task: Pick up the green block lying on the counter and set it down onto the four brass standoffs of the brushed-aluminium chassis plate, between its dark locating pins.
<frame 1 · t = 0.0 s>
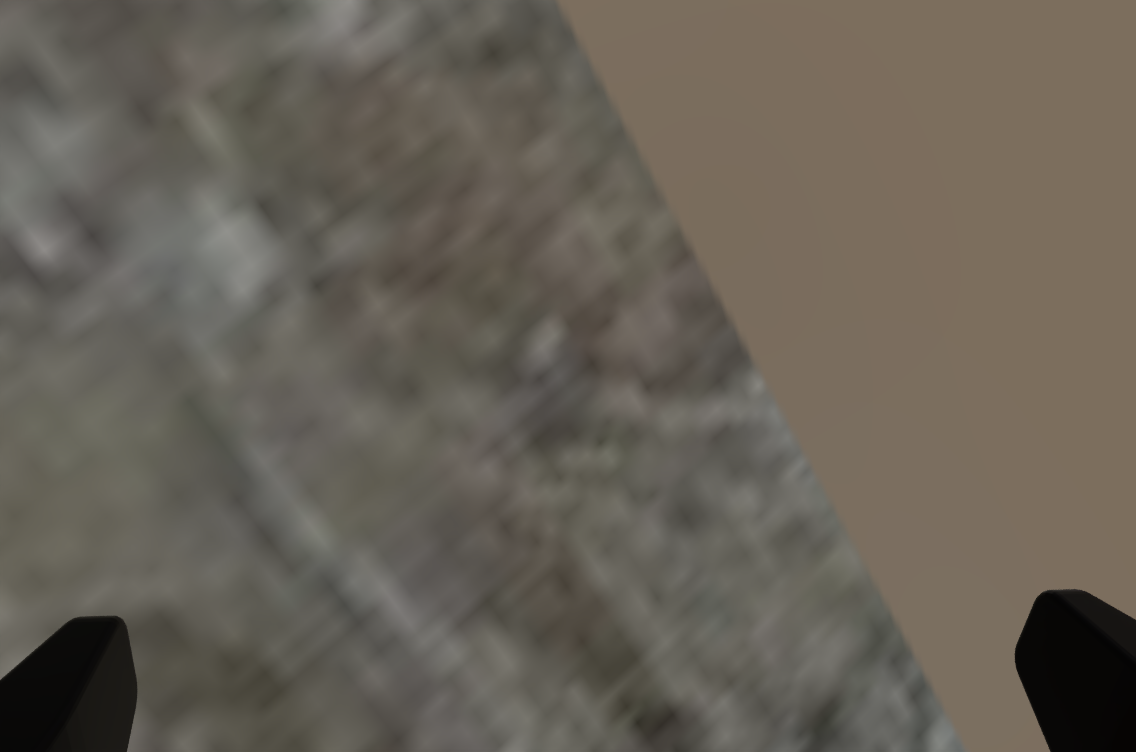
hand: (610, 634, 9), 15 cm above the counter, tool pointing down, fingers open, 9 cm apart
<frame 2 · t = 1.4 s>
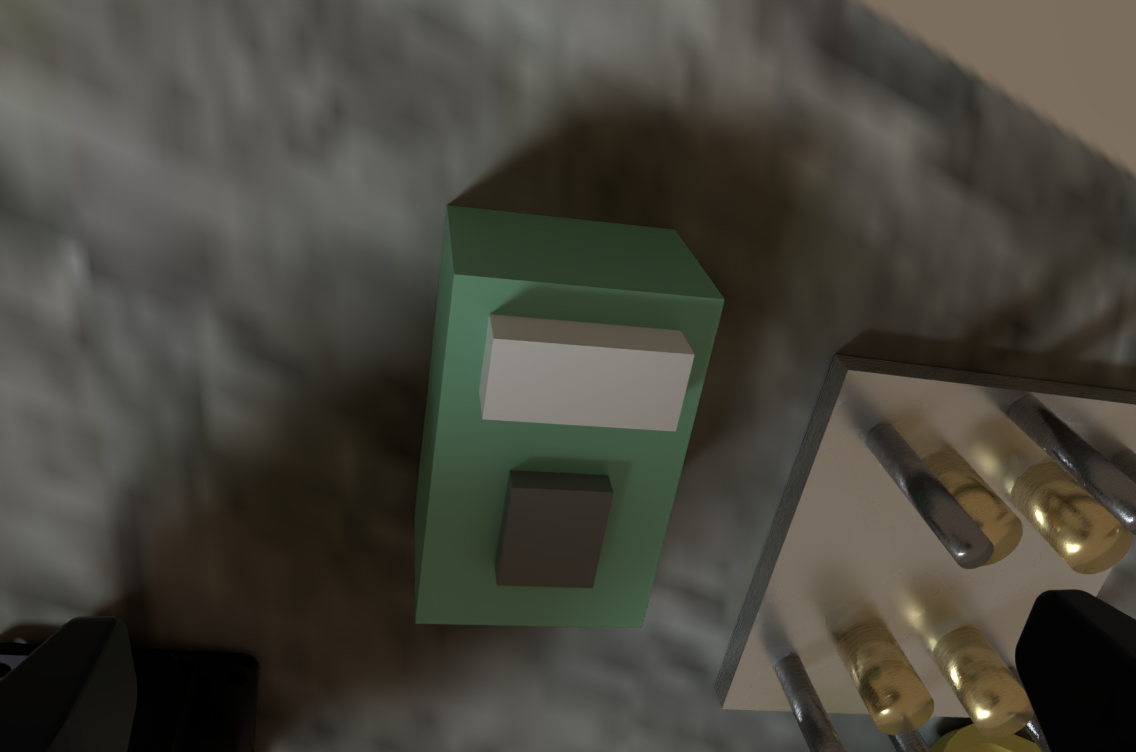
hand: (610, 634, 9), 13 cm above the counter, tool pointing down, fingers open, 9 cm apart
green block: (536, 377, 22), on the counter
chassis: (935, 549, 27), on the counter
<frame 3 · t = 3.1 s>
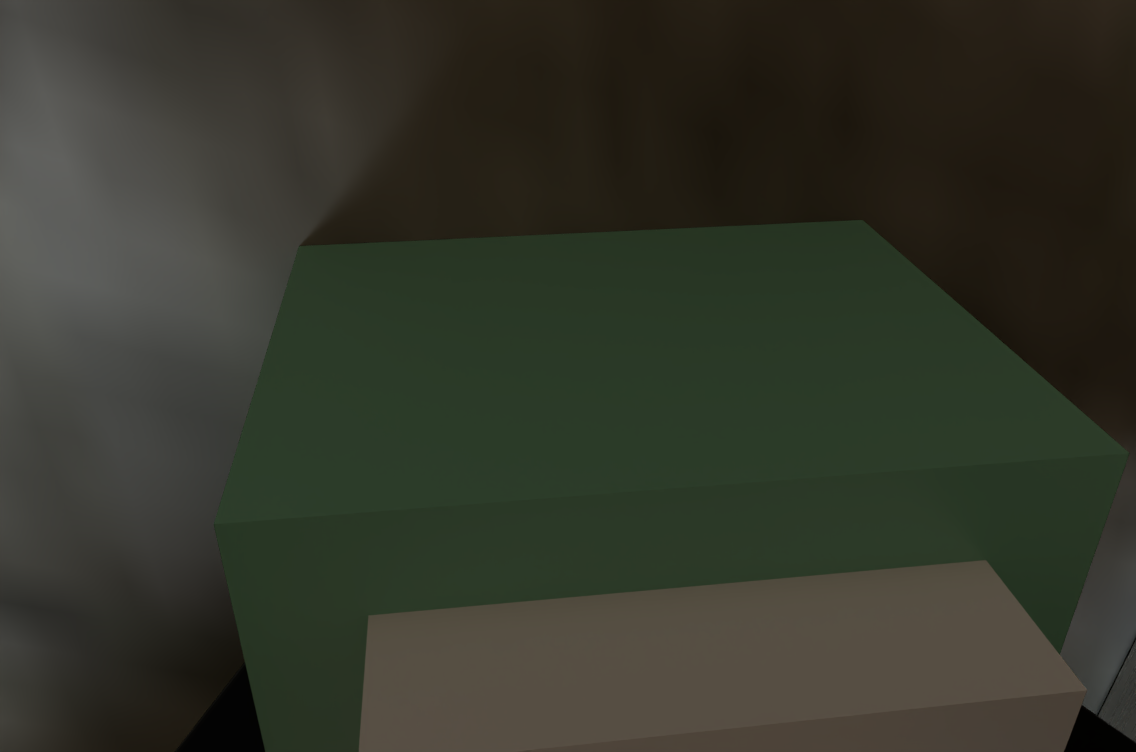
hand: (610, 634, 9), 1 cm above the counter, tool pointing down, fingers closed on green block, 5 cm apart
green block: (583, 569, 11), on the counter, touching gripper
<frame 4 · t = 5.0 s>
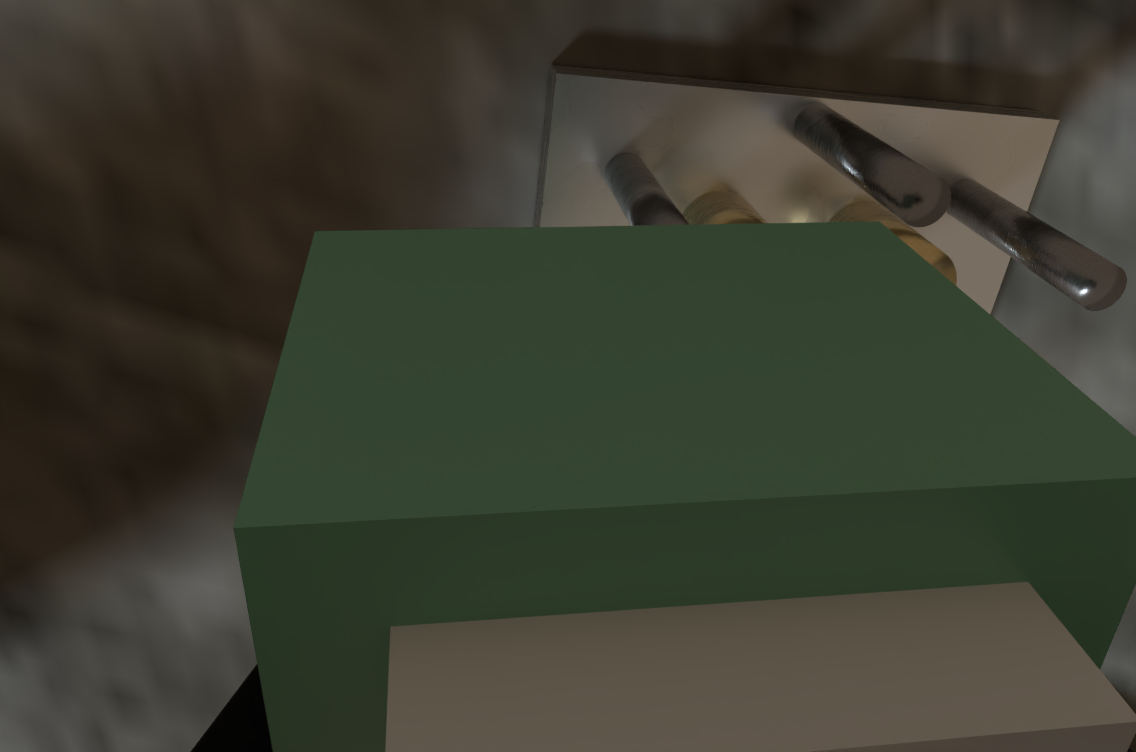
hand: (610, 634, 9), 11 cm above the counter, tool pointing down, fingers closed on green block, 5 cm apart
green block: (589, 578, 10), point 10 cm above the counter, touching gripper
chassis: (747, 341, 21), on the counter
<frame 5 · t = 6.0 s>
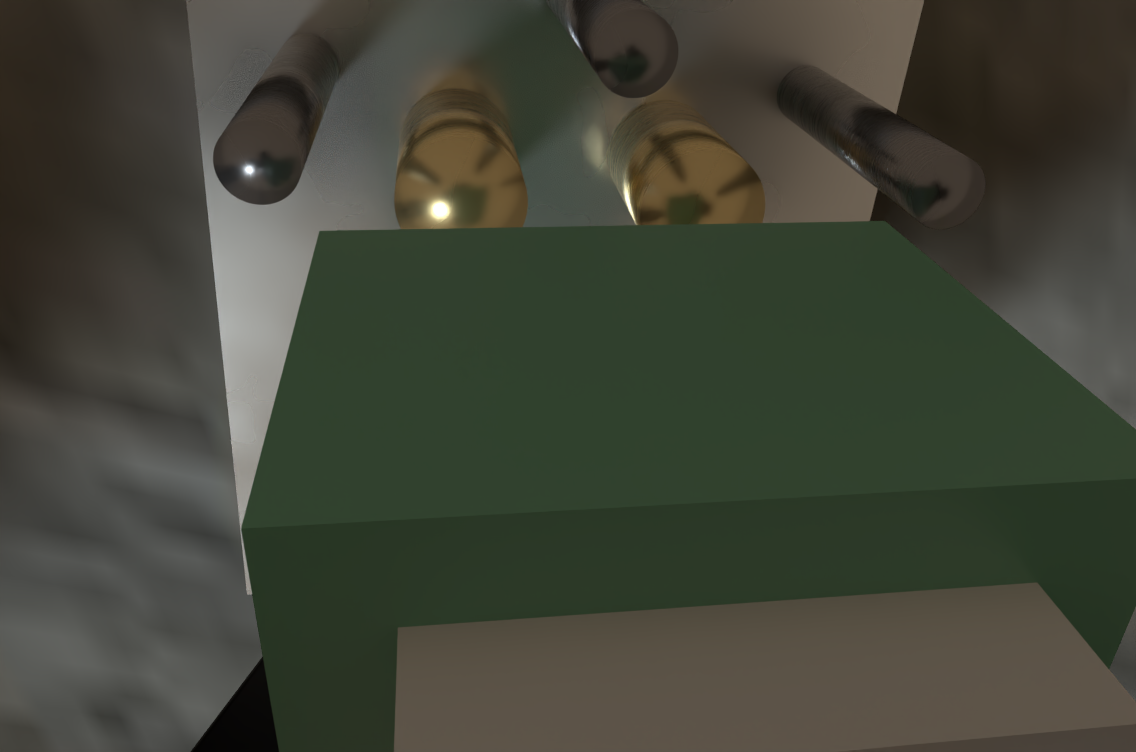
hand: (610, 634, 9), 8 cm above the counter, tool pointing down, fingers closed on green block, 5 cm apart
green block: (593, 578, 10), point 7 cm above the counter, touching gripper
chassis: (541, 302, 16), on the counter
when the fingers open (6 cm above the counter, at t = 6.7 s): green block drops 1 cm, resting on chassis.
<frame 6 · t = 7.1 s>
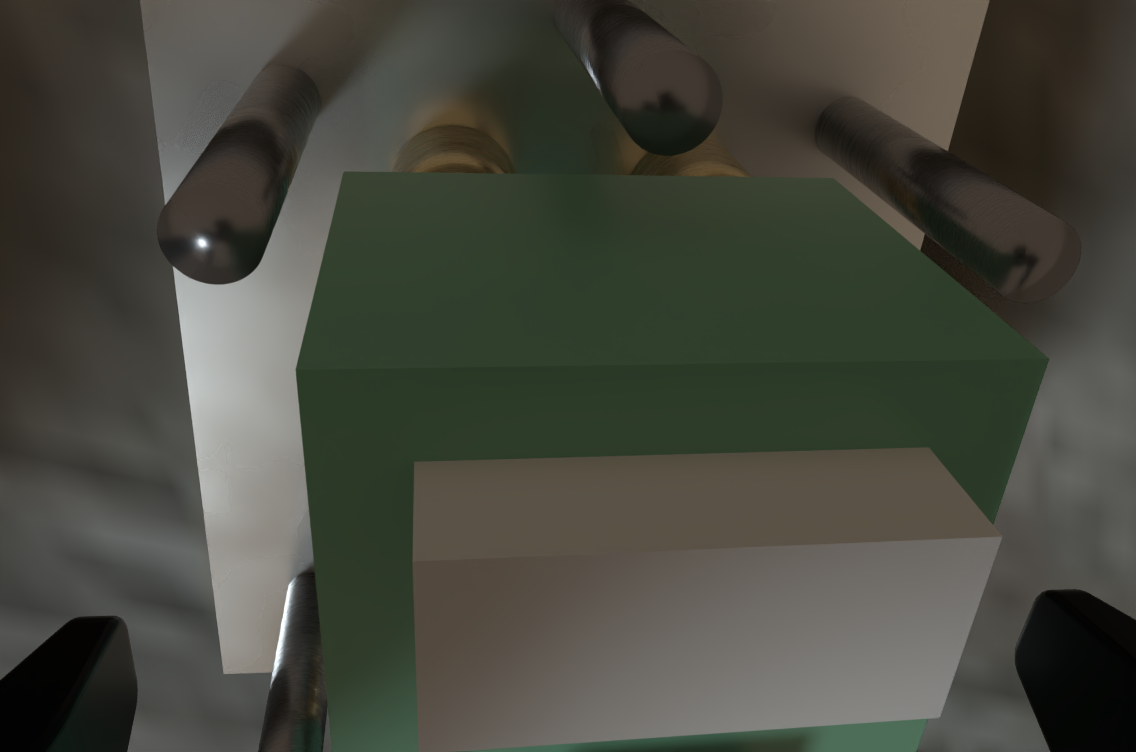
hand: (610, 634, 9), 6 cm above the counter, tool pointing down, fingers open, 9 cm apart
green block: (574, 496, 12), point 3 cm above the counter, touching chassis
chassis: (548, 355, 14), on the counter
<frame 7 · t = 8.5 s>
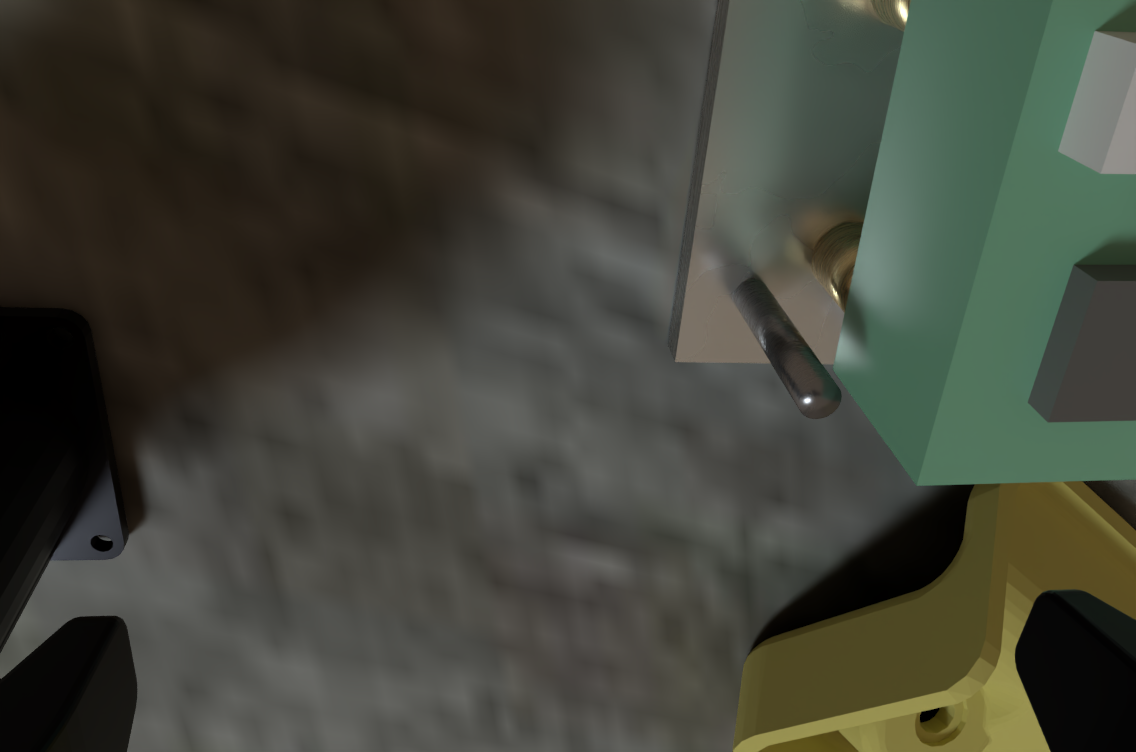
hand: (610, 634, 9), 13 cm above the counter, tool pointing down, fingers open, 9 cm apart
plastic component: (1001, 692, 31), on the counter
green block: (1001, 180, 18), point 3 cm above the counter, touching chassis
chassis: (927, 122, 21), on the counter
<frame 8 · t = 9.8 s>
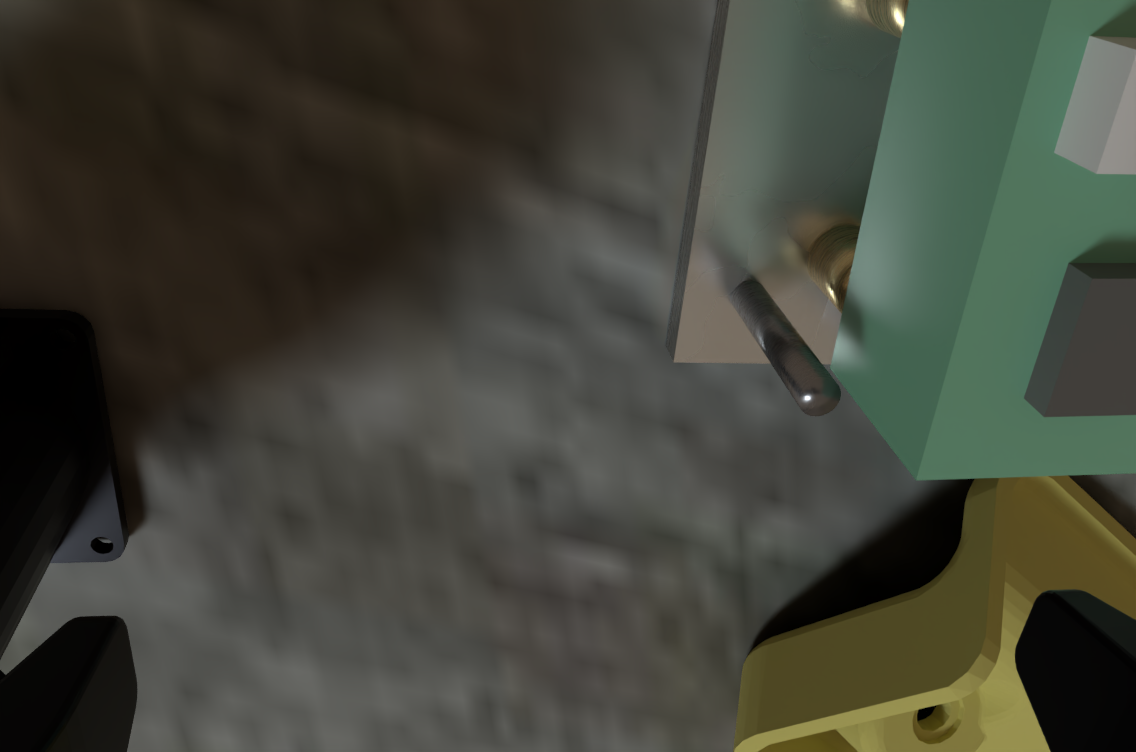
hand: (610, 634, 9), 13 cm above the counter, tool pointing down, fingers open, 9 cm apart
plastic component: (994, 691, 31), on the counter
green block: (994, 182, 18), point 3 cm above the counter, touching chassis
chassis: (920, 127, 21), on the counter
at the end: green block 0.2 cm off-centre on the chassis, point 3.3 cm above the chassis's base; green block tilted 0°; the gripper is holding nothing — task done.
